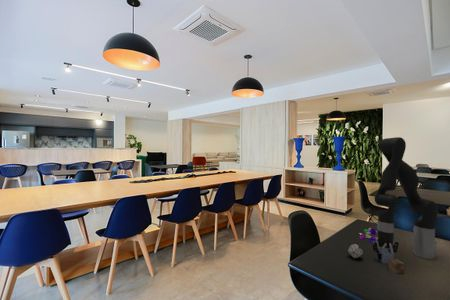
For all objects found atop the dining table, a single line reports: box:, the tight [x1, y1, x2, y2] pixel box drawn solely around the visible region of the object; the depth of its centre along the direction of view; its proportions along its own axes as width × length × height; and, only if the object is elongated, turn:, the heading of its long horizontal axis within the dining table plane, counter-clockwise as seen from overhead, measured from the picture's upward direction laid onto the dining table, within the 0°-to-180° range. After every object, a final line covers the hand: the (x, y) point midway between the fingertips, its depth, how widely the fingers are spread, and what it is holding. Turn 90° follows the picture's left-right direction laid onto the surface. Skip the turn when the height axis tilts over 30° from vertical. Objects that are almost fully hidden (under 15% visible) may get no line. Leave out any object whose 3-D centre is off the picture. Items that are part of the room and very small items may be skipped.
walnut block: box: [387, 258, 405, 274], centre depth 111 cm, size 4×4×5 cm
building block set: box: [358, 227, 395, 244], centre depth 154 cm, size 25×20×4 cm
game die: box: [345, 242, 365, 260], centre depth 124 cm, size 9×8×10 cm
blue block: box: [376, 249, 395, 264], centre depth 121 cm, size 6×6×5 cm
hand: (384, 259), depth 121 cm, fingers closed on blue block, 5 cm apart
